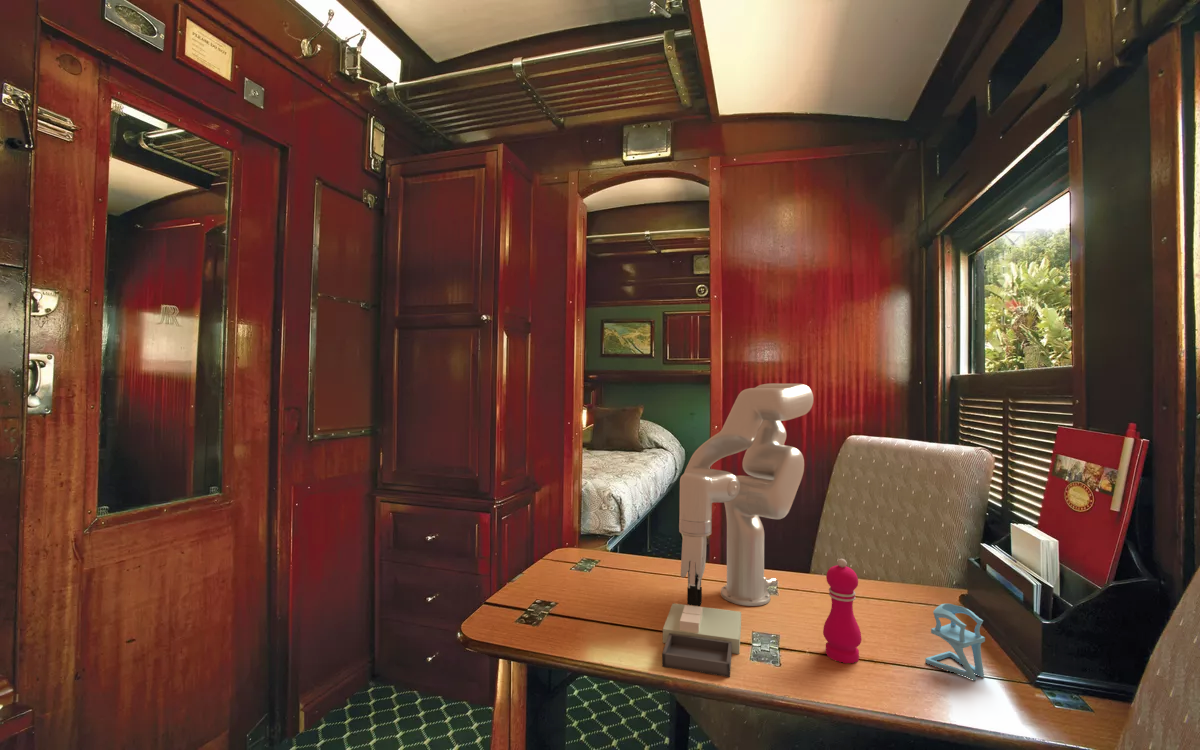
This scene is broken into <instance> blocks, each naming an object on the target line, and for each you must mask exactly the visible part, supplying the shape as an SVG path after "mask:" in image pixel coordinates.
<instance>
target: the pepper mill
mask: <svg viewBox="0 0 1200 750" xmlns="http://www.w3.org/2000/svg"><path fill="white" fill-rule="evenodd" d="M836 562H837V563H836V565H833V566H830V567H829V569H828V570H827V571H826V578H825V579H826V583H827V584H828V586H829V587H828V592H829V593H828V595H829V597H830V599H831V608H830V611H829V614H828V616H827V618H826V620H825V622H824V624H823V629H822V632H823V633H822V634H823V638H824V639H825V640H826V642H825V654H827V655H826V656H827V657H828V658H829V657H830V658H829V659H830V660H832V661H834V660H836V661H835V662H837V661H839V662H838V663H841V662H843V663H842V664H847V663H852V664H855V663H854V662H856V663H857V662H859V660H860V651H859V648H858V647H860V645H861V643H862V632H861V630H860V629H861V628H860V627H859V626H860V625H859V624H858V622H857V620H856V617H855V615H854V608H853V607H854V605H853V604H854V601H855V600H856V595H857V594H856V591H855V590H856V589H857V587H858V586H859V579H858V578H859V577H858V574H857V573H856V572H855V570H854V569H852V568H850V567H848V566H847V565H848V562H847V561H846V559H844V558H839V559H838V560H837V561H836Z"/></svg>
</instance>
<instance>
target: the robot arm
mask: <svg viewBox="0 0 1200 750" xmlns="http://www.w3.org/2000/svg"><path fill="white" fill-rule="evenodd" d="M813 404H814V394H813V391H812V389H811V388H810V386H808V385H807V384H803V383H764V384H759V385H757V386H756V387H750V388H745V389H743V390H741V391H740V393H738V395H737V397H736V399H735V401H734V403H733V405H732V407H731V410H730V411H729V414H728V416H727V418H726V420H725V421H724V424H723V426H722V428H721V430H720V431H719V432H718V433H716V434H714V435H713V436H711V437H710V438H709V439H707V440H706V441H705V442H703V443H702V444H701V445H700V446H698V447H697V449H696V450H695V451H694V452H693V453H692V455H691V457H690V459H689V461H688V464H687V465H686V467H685V470H684V473H683V474H682V475H681V476H680V479H679V518H678V519H679V523H678V529H679V530H678V531H679V533H680V534H681V535H682V540H681V560H680V561H681V564H680V577H681V578H682V579H683V578H685V577H686V576H687V587H686V588H687V590H686V591H687V592H686V593H687V594H686V596H687V598H686V599H687V601H686V602H687V604H686V605H691V606H699V607H702V601H703V600H702V599H703V594H702V593H703V592H702V591H703V586H702V579H703V576H704V572H705V569H706V561H707V537H708V536H710V535H712V532H713V531H712V524H713V520H712V518H713V517H712V515H713V513H712V512H713V511H712V510H713V508H712V506H713V503H720V504H721V503H722V504H723V503H724V507H725V515H726V584H725V585H724V586H723V587H721V589H720V596H721V597H722V599H724V600H725V601H727V602H730V603H732V604H735V605H738V606H739V605H740V606H744V607H745V606H746V607H759V606H763V605H766V604H769V603H770V601H771V594H770V592H769V591H768V588H769V587H773V586H776V585H777V583H778V582H777V579H776V578H775V577H769V578H766V577H765V530H764V525H763V522H762V521H761V518H765V519H772V520H781V519H784V518H785V517H786V516H787V515H788V514H789V513H790V510H791V508H792V505H793V503H794V501H795V498H796V495H797V491H798V489H799V486H800V484H801V482H802V479H803V475H804V472H805V459H804V455H803V453H802V452H801V451H800V450H799V449H798V448H796V447H794V446H792V445H791V446H790V445H785V442H786V440H787V430H786V427H785V426H784V423H782V421H783V422H784V421H785V422H786V421H790V420H793V419H797V418H799V417H802V416H805V415H807V414H808V413H809V412H811V410H812V407H813ZM744 451H745V453H744V456H743V459H742V462H741V463H742V469H743V471H744V473H746V474H747V475H748V476H747V475H735V474H733V473H732V472H729V471H726V470H721V469H715V468H711V466H712V465H713V464H714V463H716V462H717V461H719V460H721V459H723V458H725V457H728V456H732V455H734V454H738V453H741V452H744ZM760 517H761V518H760Z"/></svg>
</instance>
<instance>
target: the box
mask: <svg viewBox="0 0 1200 750" xmlns="http://www.w3.org/2000/svg"><path fill="white" fill-rule="evenodd" d="M732 654H733V653H732V642H728V641H721V640H713V639H706V638H699V637H692V636H685V635H678V634H671V633H669V636H668V639H667V642H666V643H665V645H664V648H663V651H662V653H661V655H662V657H661V665H662V667H664V668H669V669H674V670H675V669H676V670H682V671H688V672H696V673H700V674H708V675H712V676H713V675H714V676H720V677H726V678H727V677H728V678H730V677H731V668H732V667H731V665H732Z"/></svg>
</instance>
